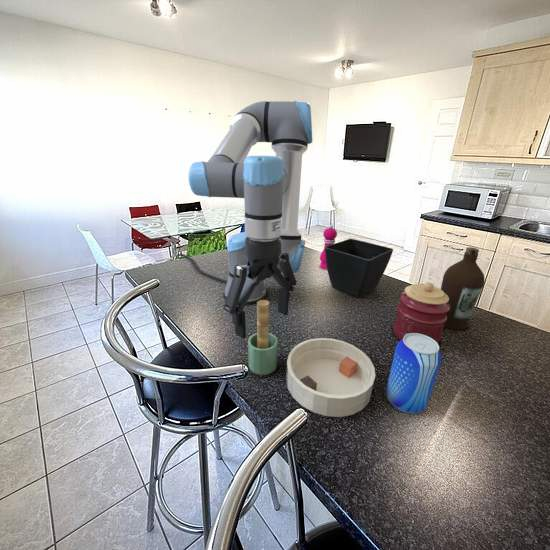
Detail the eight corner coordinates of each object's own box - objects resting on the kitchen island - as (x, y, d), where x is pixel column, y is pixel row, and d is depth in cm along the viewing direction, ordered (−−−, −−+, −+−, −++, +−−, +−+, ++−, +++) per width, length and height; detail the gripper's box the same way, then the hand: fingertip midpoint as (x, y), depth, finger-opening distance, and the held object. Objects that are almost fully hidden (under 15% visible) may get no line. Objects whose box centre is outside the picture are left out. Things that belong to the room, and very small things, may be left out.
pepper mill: (334, 270, 132) (339, 227, 124) (318, 269, 133) (322, 226, 125) (334, 264, 138) (339, 223, 130) (319, 263, 139) (323, 222, 131)
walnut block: (297, 390, 66) (297, 380, 65) (307, 385, 67) (307, 375, 66) (305, 399, 64) (306, 389, 62) (316, 393, 65) (317, 383, 64)
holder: (242, 366, 74) (241, 340, 71) (263, 353, 79) (263, 328, 75) (262, 381, 69) (262, 354, 66) (282, 366, 74) (283, 341, 71)
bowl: (268, 383, 69) (269, 363, 66) (319, 346, 82) (321, 328, 79) (339, 438, 56) (343, 415, 54) (386, 384, 69) (390, 364, 67)
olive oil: (424, 314, 98) (443, 244, 88) (451, 311, 101) (472, 242, 90) (448, 333, 89) (472, 256, 79) (477, 329, 91) (504, 254, 81)
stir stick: (255, 364, 74) (254, 302, 66) (263, 359, 75) (263, 298, 68) (262, 370, 72) (262, 307, 64) (270, 365, 74) (271, 303, 66)
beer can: (378, 388, 68) (391, 331, 62) (413, 386, 69) (429, 329, 62) (395, 418, 60) (411, 357, 54) (433, 416, 61) (454, 355, 55)
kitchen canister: (419, 354, 79) (435, 297, 72) (383, 329, 90) (393, 277, 83) (449, 341, 85) (466, 287, 78) (411, 319, 95) (424, 270, 88)
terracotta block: (338, 371, 72) (339, 361, 70) (345, 365, 74) (347, 356, 72) (348, 378, 70) (350, 368, 68) (355, 372, 72) (357, 362, 70)
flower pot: (346, 274, 129) (350, 237, 122) (386, 288, 116) (394, 248, 109) (319, 287, 116) (323, 246, 109) (362, 304, 104) (369, 260, 97)
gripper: (224, 255, 49) (230, 355, 58) (315, 229, 66) (308, 310, 74) (200, 245, 54) (209, 339, 63) (290, 223, 71) (287, 300, 79)
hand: (263, 323), depth 69 cm, fingers open, 13 cm apart
